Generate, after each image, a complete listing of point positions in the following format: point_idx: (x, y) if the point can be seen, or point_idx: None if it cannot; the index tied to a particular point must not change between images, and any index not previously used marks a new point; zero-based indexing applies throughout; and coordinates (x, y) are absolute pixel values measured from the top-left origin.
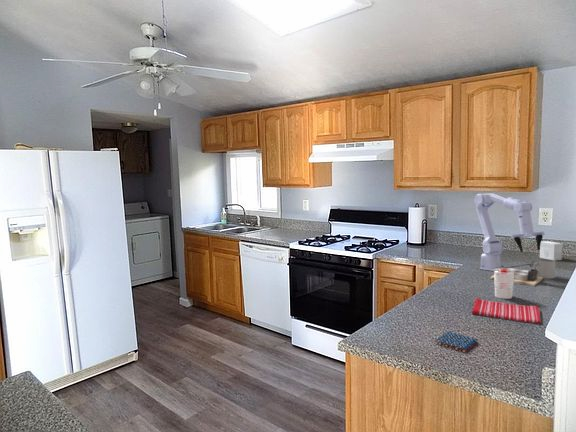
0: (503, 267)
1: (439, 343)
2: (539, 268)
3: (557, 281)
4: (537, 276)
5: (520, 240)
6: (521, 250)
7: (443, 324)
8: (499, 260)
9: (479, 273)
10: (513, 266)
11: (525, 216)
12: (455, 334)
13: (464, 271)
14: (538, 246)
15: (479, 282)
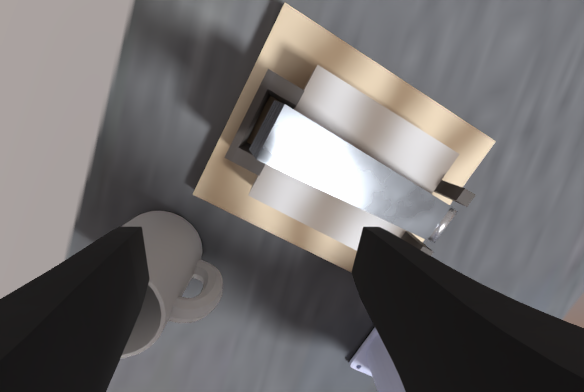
0: (439, 199)
1: None
2: (187, 266)
3: (124, 156)
4: (219, 201)
5: (580, 366)
6: (386, 233)
7: None
8: (393, 386)
9: (493, 259)
10: (391, 171)
11: None
12: None
13: (553, 286)
14: (104, 256)
15: (578, 49)
